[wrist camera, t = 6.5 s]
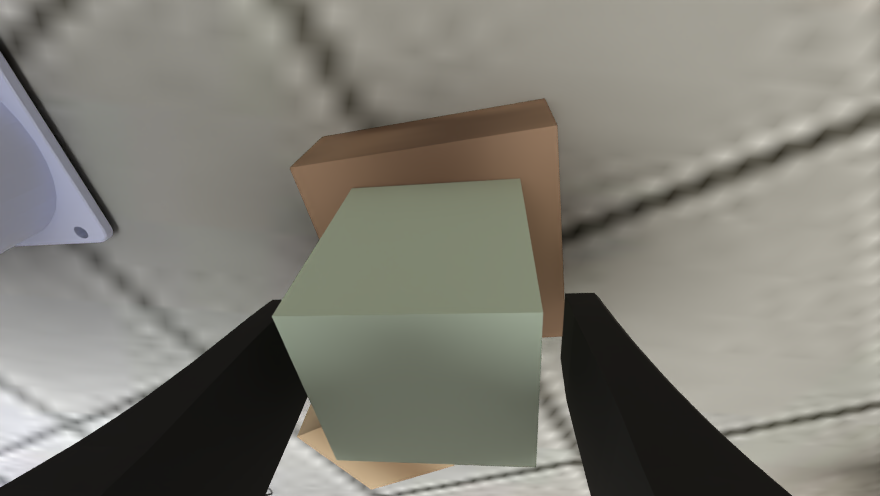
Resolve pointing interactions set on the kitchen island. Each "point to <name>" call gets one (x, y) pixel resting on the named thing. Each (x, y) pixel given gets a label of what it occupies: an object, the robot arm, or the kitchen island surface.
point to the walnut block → (453, 173)
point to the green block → (422, 326)
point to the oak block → (362, 470)
